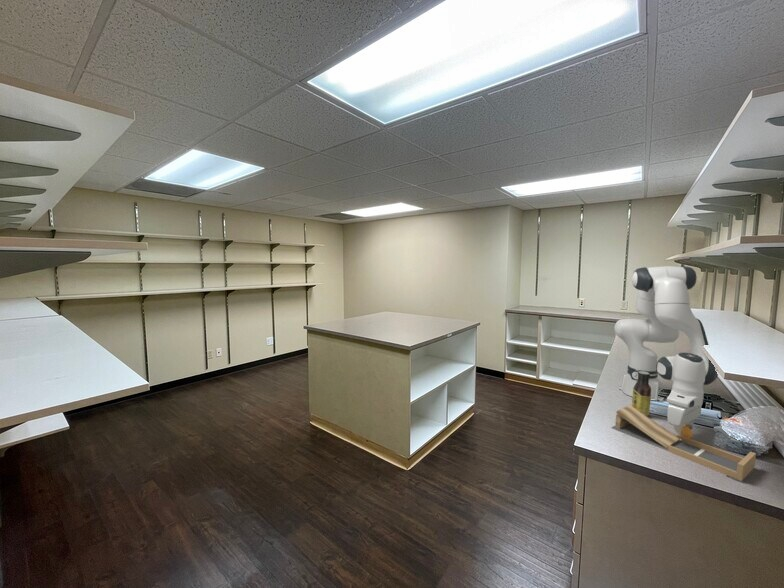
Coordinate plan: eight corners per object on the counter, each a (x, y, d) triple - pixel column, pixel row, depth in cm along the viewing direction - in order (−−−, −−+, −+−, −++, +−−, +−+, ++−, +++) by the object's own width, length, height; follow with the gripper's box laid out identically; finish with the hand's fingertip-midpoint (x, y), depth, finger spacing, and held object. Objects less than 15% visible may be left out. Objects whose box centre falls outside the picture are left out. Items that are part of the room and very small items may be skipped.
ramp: (626, 421, 134) (628, 404, 134) (679, 441, 119) (681, 422, 119) (614, 427, 129) (615, 410, 129) (668, 449, 114) (670, 429, 114)
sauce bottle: (630, 411, 145) (634, 368, 143) (648, 415, 141) (652, 371, 140) (631, 416, 140) (634, 372, 138) (649, 420, 136) (653, 375, 134)
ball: (677, 433, 126) (678, 421, 125) (694, 439, 122) (695, 427, 121) (671, 436, 123) (673, 424, 123) (688, 443, 119) (690, 430, 119)
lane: (626, 420, 136) (627, 408, 135) (755, 469, 104) (757, 453, 103) (610, 428, 129) (611, 415, 129) (742, 482, 97) (744, 466, 97)
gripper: (687, 389, 129) (684, 422, 130) (664, 398, 118) (661, 434, 120) (708, 394, 123) (704, 428, 124) (686, 405, 113) (683, 442, 114)
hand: (683, 431), depth 122 cm, fingers open, 8 cm apart
